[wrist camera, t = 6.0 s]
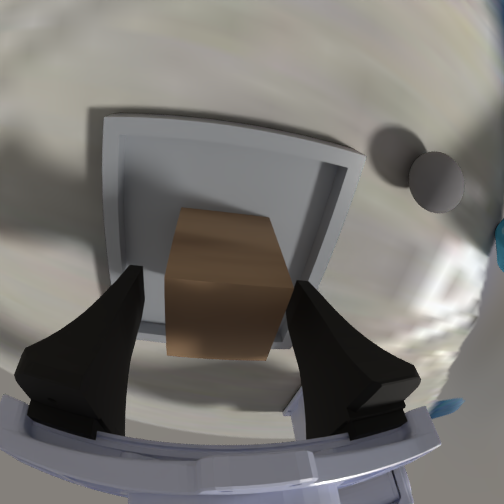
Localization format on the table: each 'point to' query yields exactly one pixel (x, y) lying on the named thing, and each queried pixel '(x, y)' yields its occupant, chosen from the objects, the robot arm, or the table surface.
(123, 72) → the table surface
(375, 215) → the table surface
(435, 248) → the table surface
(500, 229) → the data package
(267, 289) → the walnut block
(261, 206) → the tray
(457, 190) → the rubber ball
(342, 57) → the table surface
